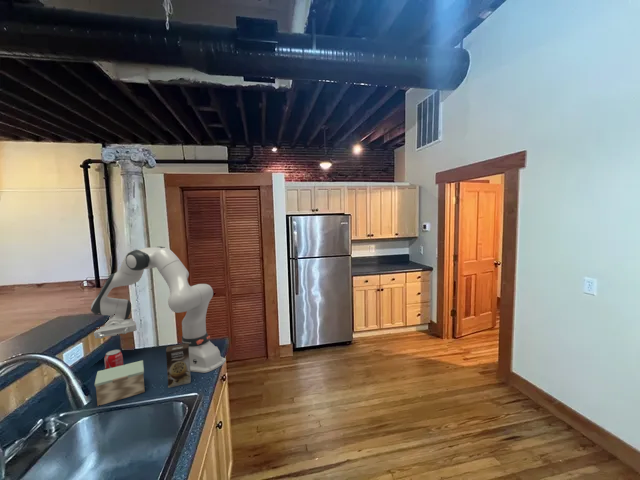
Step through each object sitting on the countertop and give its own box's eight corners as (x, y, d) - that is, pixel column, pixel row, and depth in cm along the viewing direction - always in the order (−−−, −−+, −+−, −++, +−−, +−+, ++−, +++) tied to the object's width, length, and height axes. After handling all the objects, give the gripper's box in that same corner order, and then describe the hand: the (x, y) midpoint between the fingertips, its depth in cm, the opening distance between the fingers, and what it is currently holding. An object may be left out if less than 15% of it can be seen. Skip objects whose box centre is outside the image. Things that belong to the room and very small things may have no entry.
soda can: (105, 376, 139) (103, 352, 138) (123, 371, 143) (121, 347, 143) (106, 382, 133) (104, 357, 133) (125, 376, 138) (123, 352, 137)
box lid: (142, 362, 134) (142, 360, 134) (144, 374, 123) (144, 372, 123) (97, 373, 125) (97, 371, 125) (94, 388, 114) (94, 385, 114)
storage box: (143, 380, 134) (142, 362, 134) (144, 392, 124) (143, 373, 124) (100, 392, 126) (98, 374, 125) (97, 406, 116) (95, 386, 115)
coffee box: (167, 388, 126) (165, 351, 125) (169, 381, 132) (166, 346, 131) (191, 383, 130) (188, 347, 129) (191, 376, 136) (188, 342, 135)
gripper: (89, 325, 153) (86, 333, 142) (135, 317, 164) (136, 324, 153) (90, 337, 154) (87, 346, 142) (136, 328, 165) (137, 336, 153)
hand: (113, 334), depth 147 cm, fingers open, 8 cm apart
